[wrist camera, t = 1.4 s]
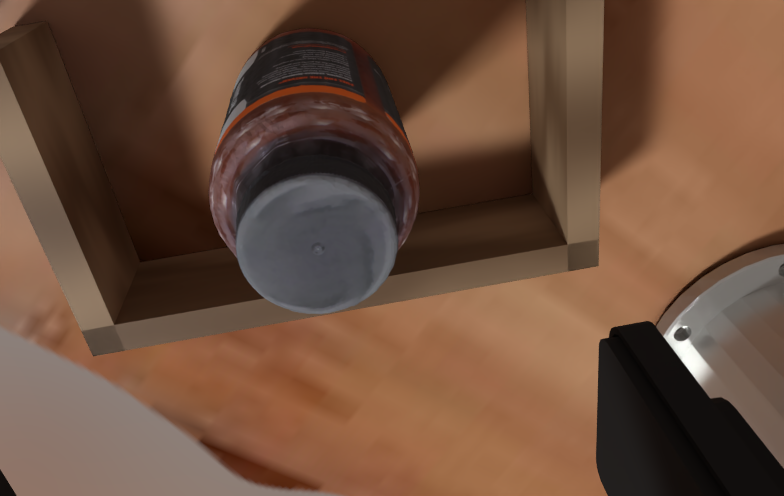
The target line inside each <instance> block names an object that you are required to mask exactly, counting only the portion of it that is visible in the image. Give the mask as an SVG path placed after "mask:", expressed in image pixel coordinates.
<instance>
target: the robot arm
mask: <svg viewBox="0 0 784 496" xmlns="http://www.w3.org/2000/svg"><path fill="white" fill-rule="evenodd" d="M596 463H597V469H598V473H599V476H600V479H601V482H602V484H603V486H604V488H605V490H606V493H607V495H608V496H784V244H780V245H772V246H769V247H766V248H762V249H759V250H756V251H752V252H749V253H746V254H744V255H742V256H740V257H738V258H735V259H733V260H731V261H729V262H727V263H725V264H722V265H721V266H719V267H718V268H716V269H715V270H713V271H712V272H710V273H708V274H707V275H705V276H704V277H702V278H701V279H699V280H698V281H697V282H696V283H695V284H693V285H692V286H691V287H690V288H689V289H687V290H686V291H685V292H684V293H683V294H682V295H680V297H679V298H678V299H677V300H676V301H675V302H674V303H673V304H672V306H671V307H670V308H669V309H668V310H667V311H666V312H665V314H664V315H663V316H662V318H661V320H660V321H659V323H658V324H657V326H655V325H654V324H653V323H652V322H649V321H645V322H640V323H634V324H629V325H623V326H618V327H613V328H611V331H610V334H609V338H605V339H601V340H600V343H599V367H598V407H597V446H596ZM0 496H16V494H15V492H14V491H13V489H12V488H11V486H10V484H9V483H8V481H7V480H6V478H5V476H4V475H3V473H2V472H1V470H0Z"/></svg>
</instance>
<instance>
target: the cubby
mask: <svg viewBox="0 0 784 496" xmlns="http://www.w3.org/2000/svg"><path fill="white" fill-rule="evenodd" d="M526 21H527V50H528V78H529V107H530V135H531V164H532V192H533V194H528V195H522V196H517V197H511V198H505V199H500V200H494V201H488V202H482V203H477V204H471V205H465V206H460V207H454V208H448V209H442V210H437V211H431V212H425V213H420V214H417V216H416V219H415V221H414V223H413V227H412V229H411V231H410V233H409V235H408V237H407V239H406V241H405V242H404V243H403V245H402V246H401V247H400V249H399V250H398V251H397V255H396V260H395V264H394V266H393V268H392V270H391V272H390V273H389V276H388V278H387V279H386V280H385V282H384V283H383V284H382V285H381V286H380V287H379V288H378V290H377V291H376V292H375V293H373V294H372V295H371V296H370V297H368V298H367V299H365V300H363V301H361V302H360V303H359V304H357V305H355V306H351V307H349V308H346V309H343V310H340V311H336V312H331V313H325V314H306V313H299V312H294V311H291V310H289V309H285V308H283V307H280V306H278V305H275V304H273V303H272V302H270V301H268V300H267V299H265V298H264V297H262V296H261V295H260V294H259V293H258V292H257V291H256V290H255V289H254V288H253V287H252V286H251V285H250V283H249V282H248V281H247V279H246V278H245V276H244V274H243V273H242V270H241V268H240V266H239V263H238V259H237V257H236V256H235V255H234V253H233V252H232V251H231V250H230V249H229V247H225V248H220V249H214V250H208V251H203V252H197V253H191V254H185V255H180V256H174V257H168V258H163V259H157V260H151V261H145V262H140V261H139V258H138V255H137V253H136V250H135V248H134V245H133V242H132V240H131V237H130V235H129V232H128V230H127V227H126V224H125V222H124V219H123V217H122V214H121V211H120V209H119V206H118V204H117V201H116V198H115V196H114V193H113V191H112V188H111V185H110V183H109V180H108V178H107V175H106V172H105V170H104V167H103V165H102V162H101V159H100V157H99V154H98V152H97V149H96V146H95V144H94V141H93V139H92V136H91V134H90V131H89V128H88V126H87V123H86V121H85V118H84V115H83V113H82V110H81V108H80V105H79V102H78V100H77V97H76V95H75V92H74V89H73V87H72V84H71V82H70V79H69V76H68V74H67V71H66V69H65V66H64V63H63V61H62V58H61V56H60V53H59V50H58V48H57V45H56V43H55V40H54V38H53V35H52V32H51V30H50V27H49V25H48V22H47V21H45V22H39V23H33V24H27V25H21V26H15V27H12V28H10V29H8V30H6V31H4V32H2V33H1V34H0V157H1V159H2V162H3V164H4V166H5V168H6V170H7V172H8V175H9V177H10V179H11V181H12V183H13V185H14V187H15V190H16V192H17V194H18V196H19V198H20V200H21V202H22V205H23V207H24V209H25V211H26V213H27V215H28V217H29V220H30V222H31V224H32V226H33V228H34V230H35V232H36V235H37V237H38V239H39V241H40V243H41V245H42V247H43V250H44V252H45V254H46V256H47V258H48V260H49V263H50V265H51V267H52V269H53V271H54V273H55V275H56V278H57V280H58V282H59V284H60V286H61V288H62V290H63V293H64V295H65V297H66V299H67V301H68V303H69V305H70V308H71V310H72V312H73V314H74V316H75V318H76V320H77V323H78V325H79V327H80V329H81V331H82V333H83V335H84V338H85V340H86V342H87V344H88V346H89V348H90V350H91V353H92V355H93V356H97V355H103V354H108V353H114V352H120V351H125V350H131V349H136V348H142V347H148V346H153V345H159V344H164V343H170V342H176V341H181V340H187V339H192V338H198V337H204V336H209V335H215V334H220V333H226V332H232V331H237V330H243V329H248V328H254V327H260V326H265V325H271V324H276V323H282V322H288V321H293V320H299V319H304V318H310V317H316V316H321V315H327V314H332V313H338V312H344V311H349V310H355V309H360V308H366V307H372V306H377V305H383V304H388V303H394V302H400V301H405V300H411V299H416V298H422V297H428V296H433V295H439V294H444V293H450V292H456V291H461V290H467V289H472V288H478V287H484V286H489V285H495V284H500V283H506V282H512V281H517V280H523V279H528V278H534V277H540V276H545V275H551V274H556V273H562V272H568V271H573V270H579V269H584V268H590V267H596V266H598V265H599V218H600V172H601V125H602V78H603V31H604V0H526Z"/></svg>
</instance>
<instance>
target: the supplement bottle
mask: <svg viewBox="0 0 784 496" xmlns="http://www.w3.org/2000/svg"><path fill="white" fill-rule="evenodd" d="M419 191H420V189H419V177H418V169H417V165H416V162H415V159H414V156H413V151H412V149H411V146H410V143H409V141H408V138H407V135H406V132H405V130H404V127H403V124H402V121H401V119H400V116H399V113H398V111H397V108H396V105H395V103H394V100H393V97H392V94H391V92H390V89H389V86H388V84H387V81H386V79H385V77H384V75H383V74H382V71H381V69H380V68H379V67H378V65H377V64H376V62H375V61H374V60H373V58H372V57H371V56H370V55H369V54H368V53H367V52H366V51H365V50H364V49H363V48H362V47H361V46H359V45H358V44H357V43H355V42H354V41H352V40H351V39H349V38H347V37H346V36H343V35H341V34H339V33H336V32H332V31H328V30H322V29H312V28H308V29H298V30H292V31H288V32H284V33H281V34H279V35H277V36H275V37H273V38H272V39H270V40H268V41H266V42H265V43H264V44H263V45H262V46H260V47H259V48H258V49H257V50H256V51H255V52H254V53H253V54H252V55H251V56H250V58H249V59H248V60H247V62H246V63H245V65H244V66H243V68H242V70H241V72H240V74H239V76H238V79H237V81H236V84H235V87H234V90H233V93H232V96H231V99H230V104H229V107H228V111H227V114H226V118H225V121H224V124H223V127H222V130H221V134H220V138H219V141H218V144H217V147H216V150H215V154H214V158H213V162H212V166H211V172H210V180H209V203H210V210H211V212H212V217H213V220H214V224H215V226H216V228H217V230H218V233H219V235H220V236H221V238H222V239H223V240H224V241H225V243H226V245H227V246H228V247H229V249H230V250H231V251H232V252H233V253H234V255H235V256H236V257H237V259H238V263H239V266H240V268H241V270H242V273H243V274H244V276H245V278H246V279H247V281H248V282H249V283H250V285H251V286H252V287H253V288H254V289H255V290H256V291H257V292H258V293H259V294H260V295H261V296H262V297H264V298H265V299H267V300H268V301H270V302H272V303H273V304H275V305H278V306H280V307H283V308H285V309H289V310H291V311H294V312H299V313H306V314H325V313H331V312H336V311H340V310H343V309H346V308H349V307H351V306H355V305H357V304H359V303H360V302H361V301H363V300H365V299H367V298H368V297H370V296H371V295H372V294H373V293H375V292H376V291H377V290H378V288H379V287H380V286H381V285H382V284H383V283H384V282H385V280H386V279H387V278H388V276H389V273H390V272H391V270H392V268H393V266H394V264H395V260H396V255H397V251H398V250H399V249H400V247H401V246H402V245H403V243H404V242H405V241H406V239H407V237H408V235H409V233H410V231H411V229H412V227H413V223H414V221H415V219H416V216H417V211H418V204H419Z"/></svg>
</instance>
